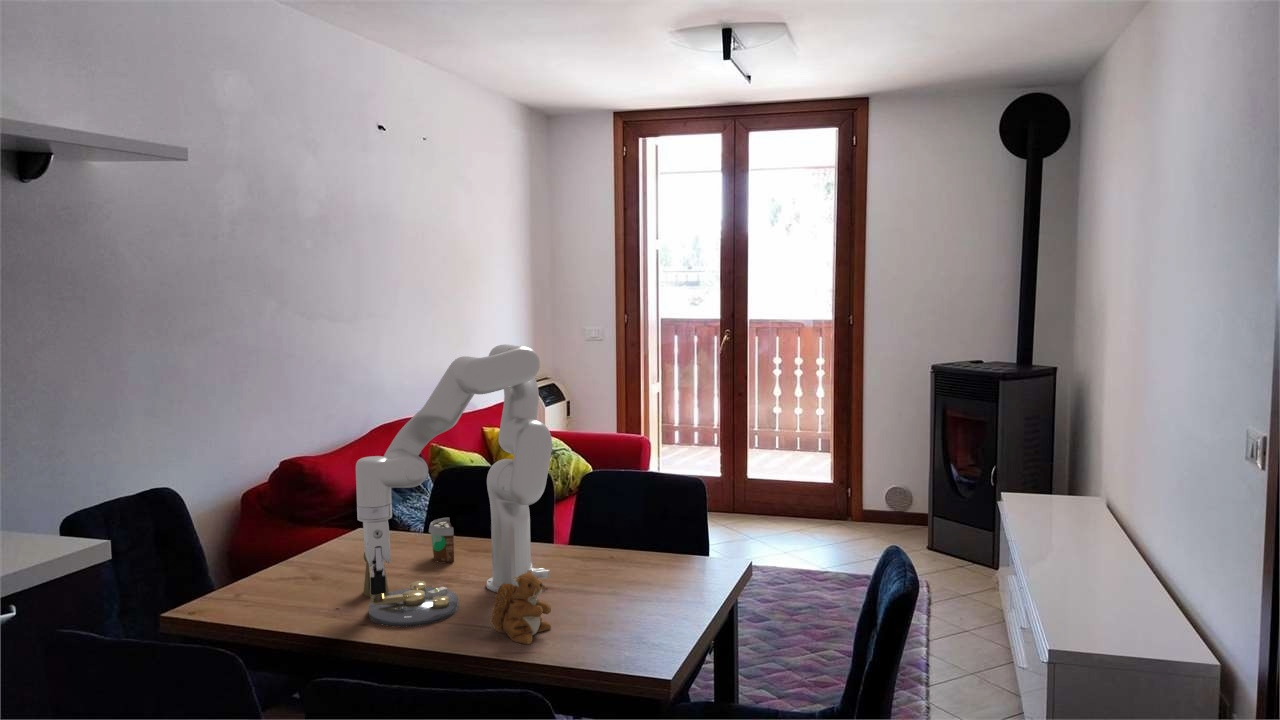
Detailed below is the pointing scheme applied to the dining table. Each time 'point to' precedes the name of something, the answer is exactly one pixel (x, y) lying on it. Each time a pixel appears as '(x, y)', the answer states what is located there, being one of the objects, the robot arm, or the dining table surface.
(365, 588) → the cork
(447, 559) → the food container
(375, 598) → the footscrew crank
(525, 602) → the stuffed squirrel
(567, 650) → the dining table surface
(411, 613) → the base
